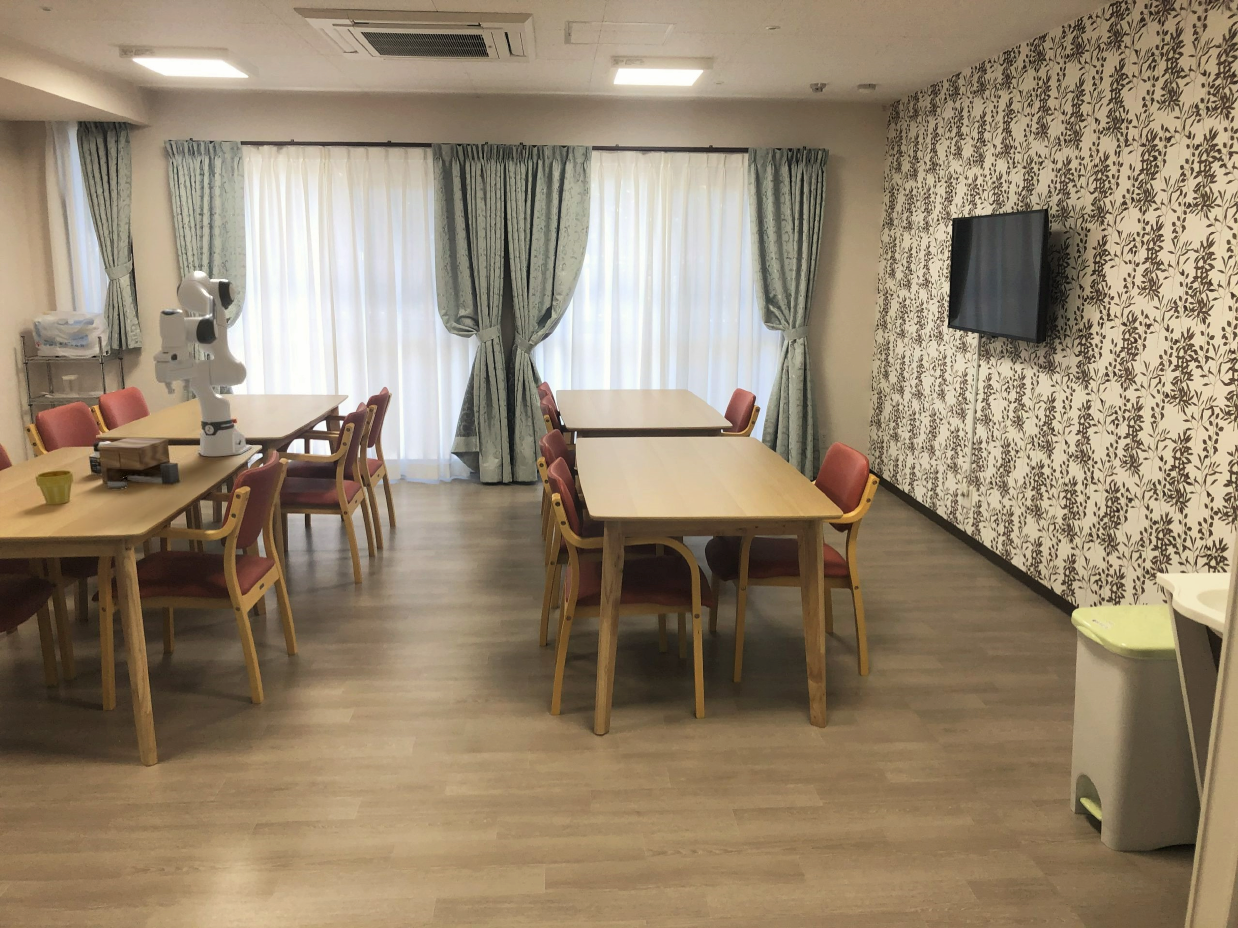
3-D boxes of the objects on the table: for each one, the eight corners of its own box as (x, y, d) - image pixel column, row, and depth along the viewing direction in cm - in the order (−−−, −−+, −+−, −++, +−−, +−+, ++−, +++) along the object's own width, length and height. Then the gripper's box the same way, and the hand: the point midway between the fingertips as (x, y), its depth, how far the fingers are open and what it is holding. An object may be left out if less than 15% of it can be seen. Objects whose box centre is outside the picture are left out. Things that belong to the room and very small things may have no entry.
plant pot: (40, 507, 294) (36, 478, 292) (38, 501, 302) (34, 472, 300) (77, 503, 300) (74, 474, 298) (74, 496, 308) (70, 468, 306)
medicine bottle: (90, 473, 342) (86, 442, 339) (108, 470, 348) (104, 439, 346) (103, 475, 339) (100, 444, 336) (121, 471, 345) (117, 440, 343)
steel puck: (117, 485, 325) (116, 478, 324) (131, 486, 323) (130, 479, 323) (104, 489, 319) (103, 482, 319) (118, 490, 318) (117, 483, 317)
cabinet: (132, 472, 344) (128, 437, 341) (172, 474, 341) (168, 439, 338) (101, 483, 327) (97, 446, 325) (143, 484, 325) (139, 447, 322)
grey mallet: (136, 478, 335) (134, 459, 334) (179, 482, 330) (177, 463, 328) (127, 480, 332) (125, 461, 330) (171, 484, 326) (169, 465, 325)
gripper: (184, 351, 342) (188, 388, 345) (150, 357, 322) (154, 395, 325) (200, 352, 341) (203, 388, 344) (166, 357, 321) (170, 396, 324)
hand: (179, 392), depth 335 cm, fingers open, 8 cm apart
